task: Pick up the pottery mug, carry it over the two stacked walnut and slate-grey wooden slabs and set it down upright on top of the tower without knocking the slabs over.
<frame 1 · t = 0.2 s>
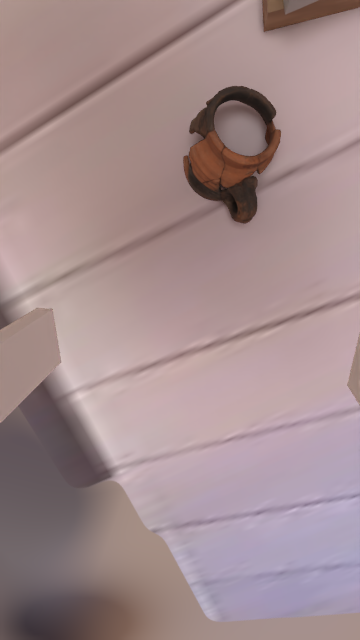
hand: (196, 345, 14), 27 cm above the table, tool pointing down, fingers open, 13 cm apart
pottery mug: (230, 165, 35), on the table
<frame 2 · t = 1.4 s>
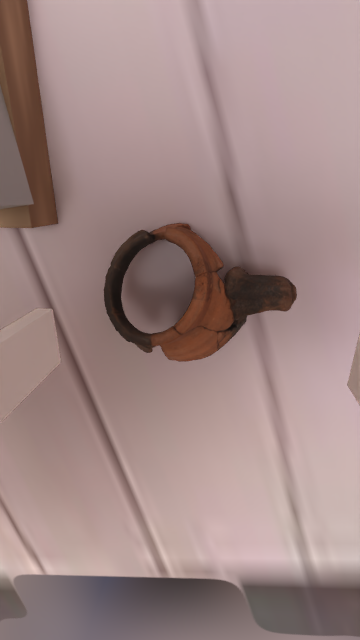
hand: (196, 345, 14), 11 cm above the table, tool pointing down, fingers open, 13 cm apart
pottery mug: (202, 285, 24), on the table
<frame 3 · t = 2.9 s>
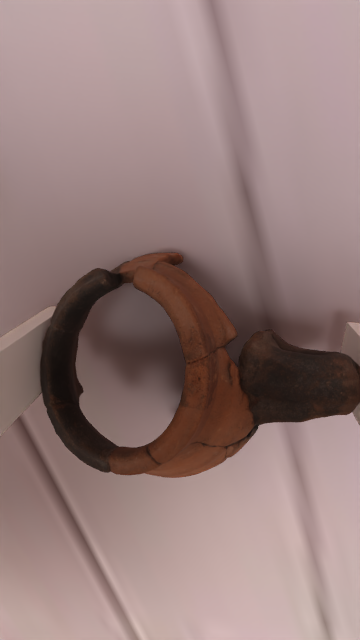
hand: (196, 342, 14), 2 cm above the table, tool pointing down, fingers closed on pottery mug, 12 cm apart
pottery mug: (202, 339, 16), on the table, touching gripper
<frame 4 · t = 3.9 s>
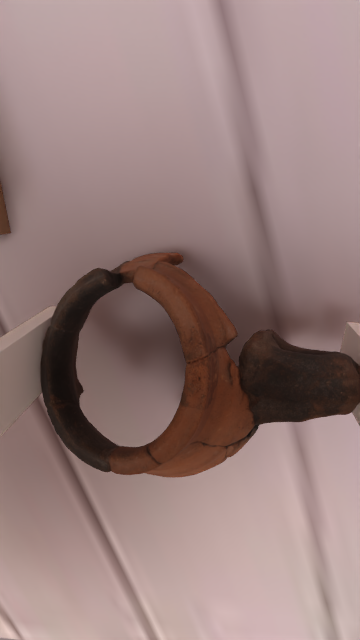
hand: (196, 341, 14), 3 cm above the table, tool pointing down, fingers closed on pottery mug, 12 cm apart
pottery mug: (202, 339, 16), point 1 cm above the table, touching gripper
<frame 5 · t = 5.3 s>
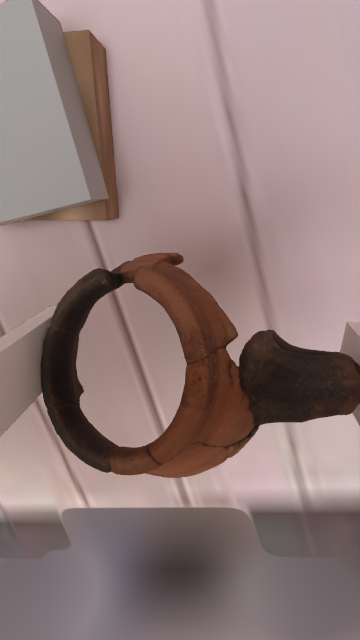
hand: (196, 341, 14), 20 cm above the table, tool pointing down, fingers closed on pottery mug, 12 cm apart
base slab: (48, 144, 31), on the table, touching top slab
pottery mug: (202, 339, 16), point 18 cm above the table, touching gripper
top slab: (21, 138, 28), point 3 cm above the table, touching base slab
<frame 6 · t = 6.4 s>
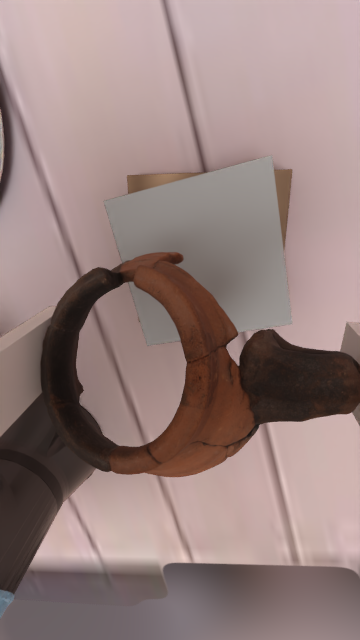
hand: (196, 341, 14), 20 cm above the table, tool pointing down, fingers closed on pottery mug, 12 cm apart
base slab: (208, 248, 33), on the table, touching top slab
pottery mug: (202, 339, 16), point 18 cm above the table, touching gripper
top slab: (204, 255, 29), point 3 cm above the table, touching base slab
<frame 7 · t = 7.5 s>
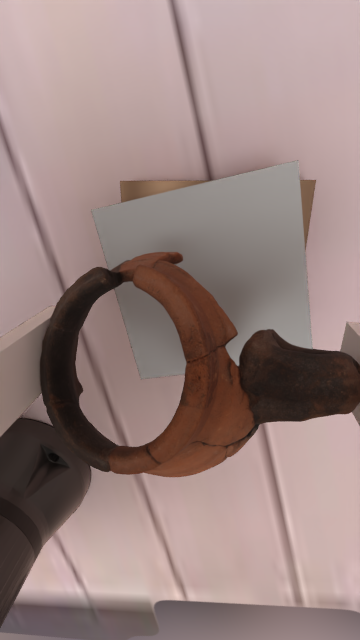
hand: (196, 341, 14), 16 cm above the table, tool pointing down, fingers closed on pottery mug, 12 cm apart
base slab: (212, 265, 29), on the table, touching top slab
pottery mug: (202, 339, 16), point 13 cm above the table, touching gripper
top slab: (209, 274, 25), point 3 cm above the table, touching base slab
when the fingers open (11 cm above the table, at t = 8.9 s): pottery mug drops 2 cm, resting on top slab.
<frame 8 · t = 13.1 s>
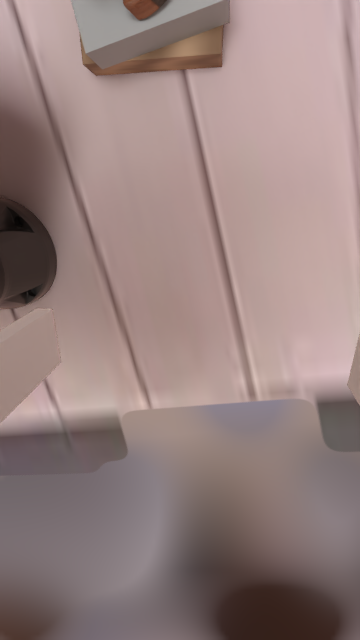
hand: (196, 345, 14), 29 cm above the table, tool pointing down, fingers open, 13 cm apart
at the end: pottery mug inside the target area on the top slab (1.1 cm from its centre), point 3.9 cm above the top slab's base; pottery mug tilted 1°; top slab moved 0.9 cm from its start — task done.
